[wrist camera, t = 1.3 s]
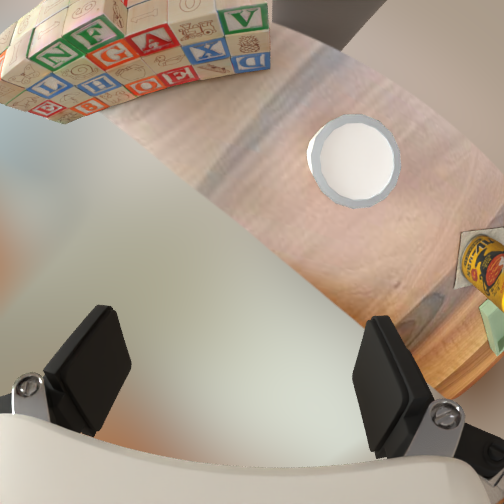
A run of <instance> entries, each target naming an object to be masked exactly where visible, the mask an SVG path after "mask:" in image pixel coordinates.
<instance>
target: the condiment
mask: <svg viewBox="0 0 504 504" xmlns="http://www.w3.org/2000/svg"><path fill="white" fill-rule="evenodd" d="M469 285H474V286H475V287H476V288H477V289H478V290H479V291H481V292H482V293H483V294H484V295H485V296H486V297H487V298H488V299H489V300H490V301H491V302H492V303H494V304H495V305H496V307H498V308H499V309H500V310H501V311H502V312H503V313H504V227H503V228H495V229H485V230H476V231H468V232H463V233H462V234H461V243H460V250H459V257H458V265H457V272H456V281H455V287H454V289H457V288H461V287H465V286H469Z"/></svg>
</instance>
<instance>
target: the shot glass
mask: <svg viewBox="0 0 504 504" xmlns="http://www.w3.org/2000/svg"><path fill="white" fill-rule="evenodd" d="M307 161H308V165H309V168H310V170H311V172H312V174H313V176H314V178H315V180H316V182H317V184H318V186H319V188H320V189H321V191H322V192H323V193H324V194H325V195H326V196H328V197H329V198H330V199H331V200H332V201H334V202H335V203H336V204H339V205H342V206H346V207H349V208H352V209H356V208H366V207H371V206H373V205H375V204H377V203H378V202H380V201H382V200H384V199H385V198H386V197H387V196H388V195H389V193H390V192H391V191H392V190H393V188H394V187H395V186H396V183H397V180H398V177H399V174H400V170H401V160H400V150H399V148H398V145H397V143H396V141H395V139H394V137H393V134H392V133H391V132H390V131H389V130H388V129H387V128H386V127H385V126H384V125H383V124H382V123H381V122H380V121H378V120H376V119H373V118H371V117H368V116H366V115H363V114H347V115H342V116H340V117H338V118H336V119H334V120H332V121H330V122H328V123H327V124H325V125H324V126H323V127H322V128H321V129H320V130H319V131H318V132H317V133H316V134H315V135H314V136H313V138H312V139H311V140H310V142H309V145H308V149H307Z"/></svg>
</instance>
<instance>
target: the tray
mask: <svg viewBox="0 0 504 504" xmlns="http://www.w3.org/2000/svg"><path fill="white" fill-rule="evenodd" d="M479 309H480V312H481V316H482V319H483V322H484V326H485V329H486V333H487V337H488V341H489V345H490V348H491V349H492V351H493V352H494V353H495V354H496V356H498V355H499V354H501V353H502V352H503V351H504V313H503V312H502V311H501V310H500V309H499V308H498V307H496V305H495V304H494V303H492V302H491V301H490V300H489V299H487V300H486V301H485V302H484V303H483V304H482V305H481V306H480V307H479Z"/></svg>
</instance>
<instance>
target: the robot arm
mask: <svg viewBox="0 0 504 504" xmlns="http://www.w3.org/2000/svg"><path fill="white" fill-rule="evenodd" d="M130 370H131V359H130V357H129V353H128V350H127V347H126V344H125V340H124V337H123V334H122V330H121V327H120V323H119V320H118V316H117V313H116V311H115V310H113V308H112V307H111V306H105V305H97V306H95V308H94V309H93V310H92V311H91V312H90V313H89V314H88V316H87V317H86V318H85V319H84V320H83V322H82V323H81V324H80V325H79V326H78V327H77V328H76V330H75V331H74V332H73V333H72V334H71V336H70V337H69V338H68V339H67V340H66V342H65V343H64V344H63V345H62V347H61V348H60V349H59V351H58V352H57V353H56V354H55V355H54V357H53V358H52V359H51V360H50V362H49V363H48V364H47V365H46V367H45V368H44V370H43V371H44V373H45V375H44V376H43V377H42V376H41V375H40V374H38V373H33V372H30V373H26V374H23V375H21V376H20V377H18V378H17V380H16V381H15V382H14V384H13V387H12V393H10V394H8V395H5V396H1V397H0V504H504V440H503V439H501V438H500V437H497V436H495V435H493V434H490V433H488V432H485V431H483V430H481V429H478V428H476V427H474V426H471V425H469V424H467V423H465V413H464V411H463V409H462V407H461V406H460V405H459V404H457V403H456V402H454V401H452V400H449V399H438V400H434V398H433V395H432V393H431V391H430V389H429V387H428V385H427V383H426V381H425V379H424V377H423V375H422V373H421V371H420V369H419V367H418V365H417V363H416V362H415V360H414V358H413V356H412V354H411V352H410V351H409V350H408V349H407V348H406V346H405V344H404V343H403V341H402V339H401V337H400V335H399V333H398V332H397V330H396V328H395V326H394V324H393V323H392V321H391V319H390V317H389V316H373V317H372V319H371V320H368V321H367V323H366V327H365V331H364V335H363V339H362V342H361V346H360V350H359V353H358V357H357V360H356V364H355V367H354V370H353V375H352V380H353V384H354V388H355V392H356V395H357V399H358V403H359V407H360V411H361V415H362V419H363V423H364V427H365V431H366V436H367V439H368V444H369V448H370V451H371V452H374V451H375V456H376V459H378V458H384V457H387V459H383V460H376V461H369V462H363V463H354V464H344V465H332V466H320V467H298V468H263V467H241V466H228V465H218V464H208V463H200V462H193V461H186V460H181V459H174V458H169V457H164V456H159V455H154V454H150V453H145V452H141V451H137V450H132V449H129V448H125V447H121V446H118V445H114V444H111V443H107V442H104V441H101V440H97V439H95V438H92V437H94V436H95V434H96V431H99V430H100V429H101V428H102V425H103V423H104V421H105V419H106V417H107V415H108V413H109V411H110V409H111V407H112V405H113V403H114V401H115V399H116V397H117V395H118V393H119V391H120V389H121V387H122V385H123V383H124V381H125V379H126V377H127V376H128V374H129V372H130ZM81 432H82V434H80V433H81ZM83 434H85V435H89V436H91V437H89V436H85V435H83Z"/></svg>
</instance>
